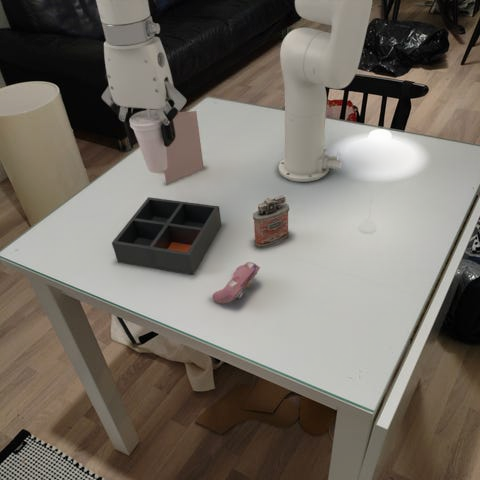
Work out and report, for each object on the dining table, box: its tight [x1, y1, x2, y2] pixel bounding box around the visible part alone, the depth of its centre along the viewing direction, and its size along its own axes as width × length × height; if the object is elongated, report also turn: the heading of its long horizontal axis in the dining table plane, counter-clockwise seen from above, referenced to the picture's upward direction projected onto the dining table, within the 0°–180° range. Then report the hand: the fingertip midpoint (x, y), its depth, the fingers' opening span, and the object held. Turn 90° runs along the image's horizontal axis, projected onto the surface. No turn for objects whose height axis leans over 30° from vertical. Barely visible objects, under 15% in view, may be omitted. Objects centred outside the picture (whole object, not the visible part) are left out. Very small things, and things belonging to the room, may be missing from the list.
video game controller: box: [212, 261, 261, 304], centre depth 91 cm, size 10×5×7 cm, turn 148°
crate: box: [111, 196, 223, 276], centre depth 103 cm, size 17×17×5 cm
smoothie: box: [129, 109, 167, 174], centre depth 86 cm, size 6×6×14 cm
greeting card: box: [161, 110, 205, 185], centre depth 119 cm, size 11×7×15 cm, turn 92°
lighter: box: [252, 194, 290, 249], centre depth 99 cm, size 8×3×10 cm, turn 118°
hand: (152, 140), depth 87 cm, fingers closed on smoothie, 6 cm apart
